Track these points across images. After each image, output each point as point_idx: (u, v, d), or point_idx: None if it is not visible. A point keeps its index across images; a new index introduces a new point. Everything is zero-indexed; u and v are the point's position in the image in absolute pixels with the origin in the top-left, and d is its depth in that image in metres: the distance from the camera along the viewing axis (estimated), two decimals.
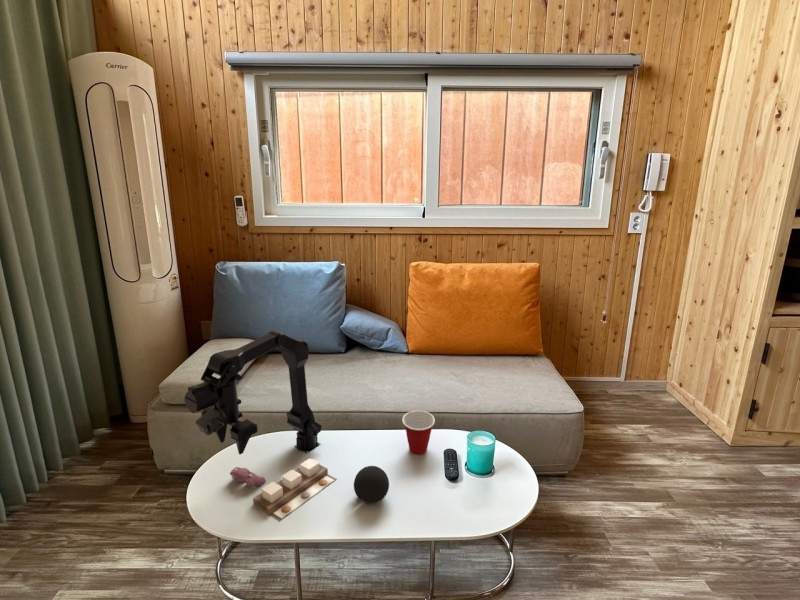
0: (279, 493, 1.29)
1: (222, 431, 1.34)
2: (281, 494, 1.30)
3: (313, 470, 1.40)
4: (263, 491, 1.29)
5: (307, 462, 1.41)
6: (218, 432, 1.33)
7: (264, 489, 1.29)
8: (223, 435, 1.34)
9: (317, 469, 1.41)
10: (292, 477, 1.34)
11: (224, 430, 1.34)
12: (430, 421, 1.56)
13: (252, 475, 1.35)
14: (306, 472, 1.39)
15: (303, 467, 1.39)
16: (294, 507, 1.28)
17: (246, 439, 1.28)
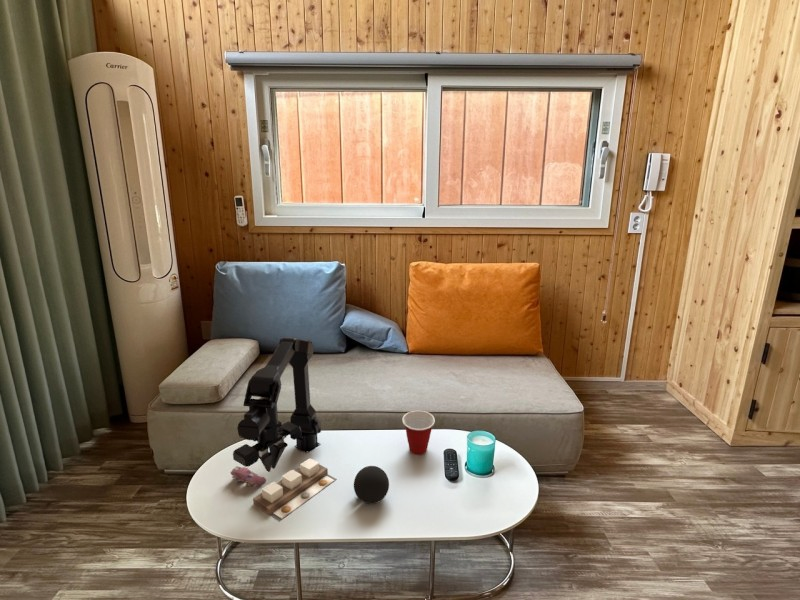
0: (279, 493, 1.29)
1: (273, 458, 1.28)
2: (281, 494, 1.30)
3: (313, 470, 1.40)
4: (263, 491, 1.29)
5: (307, 462, 1.41)
6: None
7: (264, 489, 1.29)
8: (273, 462, 1.28)
9: (317, 469, 1.41)
10: (292, 477, 1.34)
11: (275, 459, 1.27)
12: (430, 421, 1.56)
13: (253, 475, 1.35)
14: (306, 472, 1.39)
15: (303, 467, 1.39)
16: (294, 507, 1.28)
17: (265, 461, 1.24)
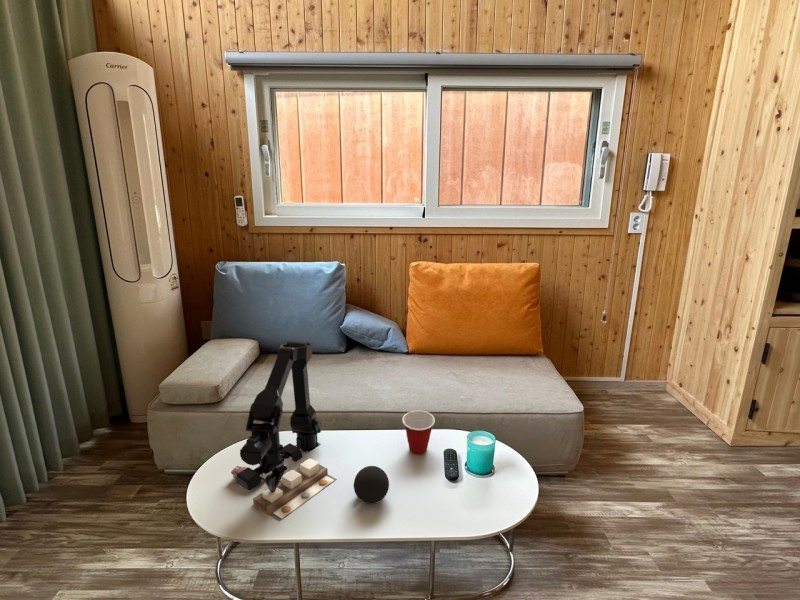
0: (279, 497, 1.30)
1: None
2: None
3: (313, 470, 1.40)
4: (263, 495, 1.29)
5: (307, 462, 1.41)
6: None
7: (265, 493, 1.29)
8: None
9: (317, 469, 1.41)
10: (292, 477, 1.34)
11: (274, 482, 1.29)
12: (430, 421, 1.56)
13: None
14: (306, 472, 1.39)
15: (303, 467, 1.39)
16: (294, 507, 1.28)
17: (269, 482, 1.27)
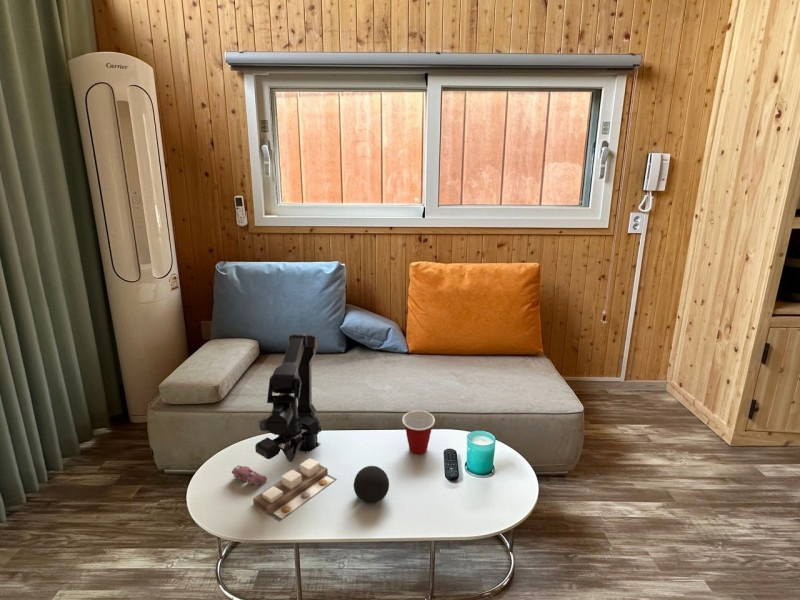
0: (279, 497, 1.30)
1: None
2: None
3: (313, 470, 1.40)
4: (263, 495, 1.29)
5: (307, 462, 1.41)
6: None
7: (265, 494, 1.29)
8: None
9: (317, 469, 1.41)
10: (292, 477, 1.34)
11: None
12: (430, 421, 1.56)
13: (254, 474, 1.36)
14: (306, 472, 1.39)
15: (303, 467, 1.39)
16: (294, 507, 1.28)
17: (287, 452, 1.31)
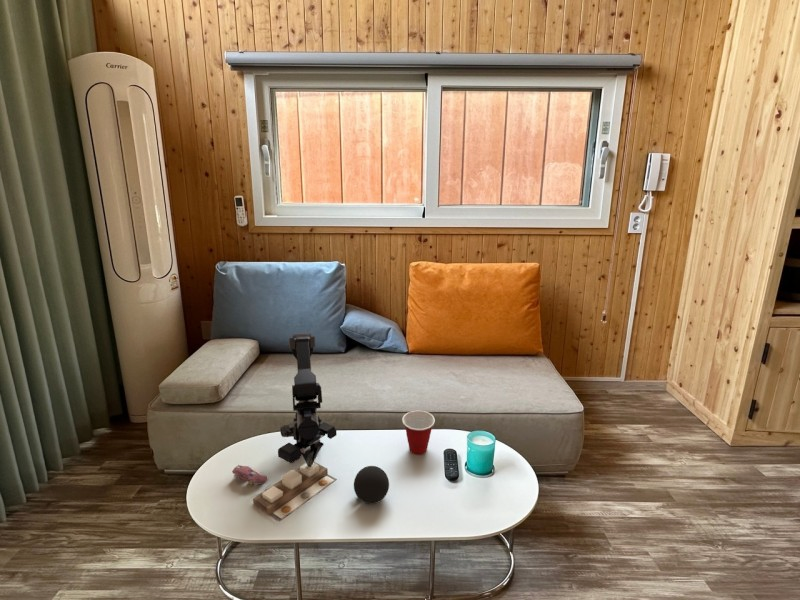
0: (279, 497, 1.30)
1: None
2: None
3: (313, 472, 1.40)
4: (263, 495, 1.29)
5: None
6: None
7: (265, 494, 1.29)
8: None
9: (317, 471, 1.41)
10: (292, 477, 1.34)
11: (312, 457, 1.40)
12: (430, 421, 1.56)
13: (254, 473, 1.36)
14: (306, 475, 1.39)
15: (303, 469, 1.40)
16: (294, 507, 1.28)
17: (307, 457, 1.38)
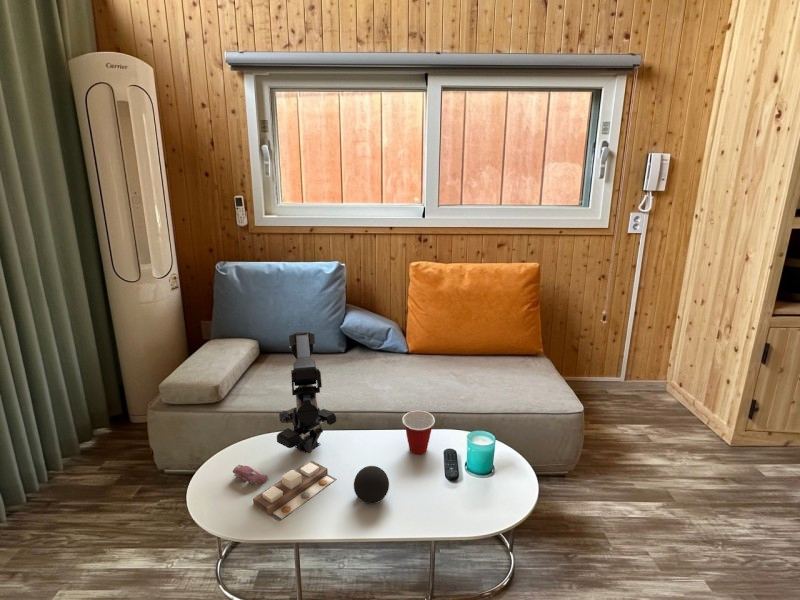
0: (279, 497, 1.30)
1: None
2: None
3: (313, 474, 1.40)
4: (263, 495, 1.29)
5: (308, 467, 1.41)
6: None
7: (265, 494, 1.29)
8: None
9: None
10: (292, 477, 1.34)
11: None
12: (430, 421, 1.56)
13: (255, 473, 1.36)
14: None
15: (303, 471, 1.40)
16: (294, 507, 1.28)
17: (306, 443, 1.36)
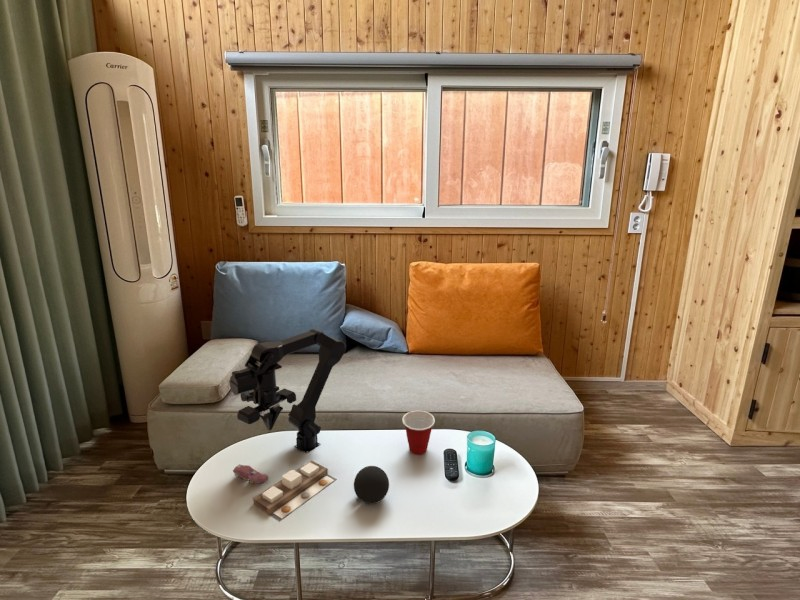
0: (279, 497, 1.30)
1: None
2: None
3: (313, 474, 1.40)
4: (263, 495, 1.29)
5: (308, 467, 1.41)
6: None
7: (265, 494, 1.29)
8: None
9: None
10: (292, 477, 1.34)
11: None
12: (430, 421, 1.56)
13: (255, 472, 1.36)
14: None
15: (303, 471, 1.40)
16: (294, 507, 1.28)
17: (267, 420, 1.43)
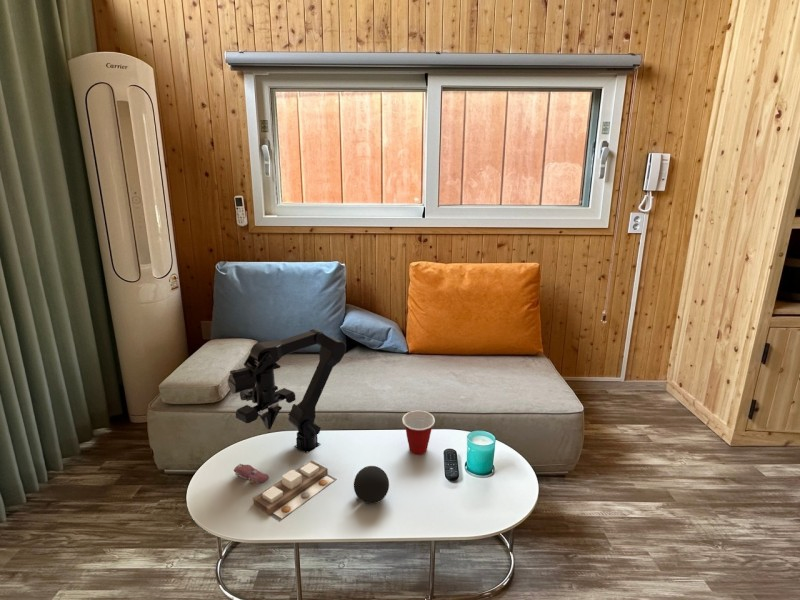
0: (279, 497, 1.30)
1: None
2: None
3: (313, 474, 1.40)
4: (263, 495, 1.29)
5: (308, 467, 1.41)
6: None
7: (265, 494, 1.29)
8: None
9: None
10: (292, 477, 1.34)
11: None
12: (430, 421, 1.56)
13: (256, 472, 1.37)
14: None
15: (303, 471, 1.40)
16: (294, 507, 1.28)
17: (265, 419, 1.43)
